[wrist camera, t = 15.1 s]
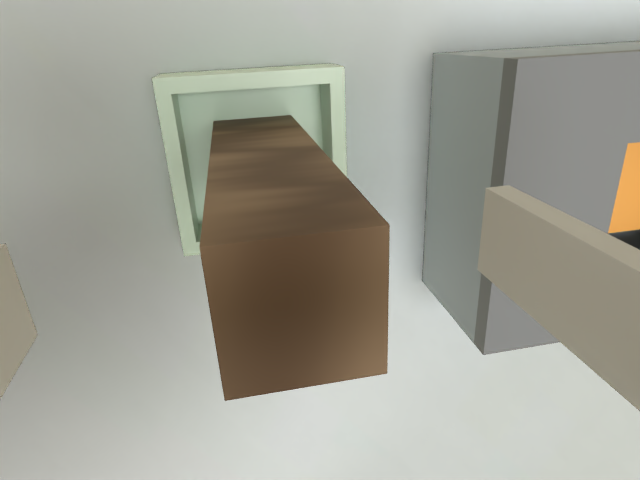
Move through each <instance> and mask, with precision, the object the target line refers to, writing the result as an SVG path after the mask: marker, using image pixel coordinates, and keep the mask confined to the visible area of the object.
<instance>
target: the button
mask: <svg viewBox="0 0 640 480" xmlns="http://www.w3.org/2000/svg"><path fill="white" fill-rule="evenodd" d="M638 229H640V142H637V143H628V145H627V150H626V154H625V159H624V163H623V168H622V172H621V177H620V181H619V186H618V190H617V195H616V199H615V204H614V208H613V213H612V217H611V222H610V226H609V231H608V233H615V232H623V231H631V230H638Z"/></svg>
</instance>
